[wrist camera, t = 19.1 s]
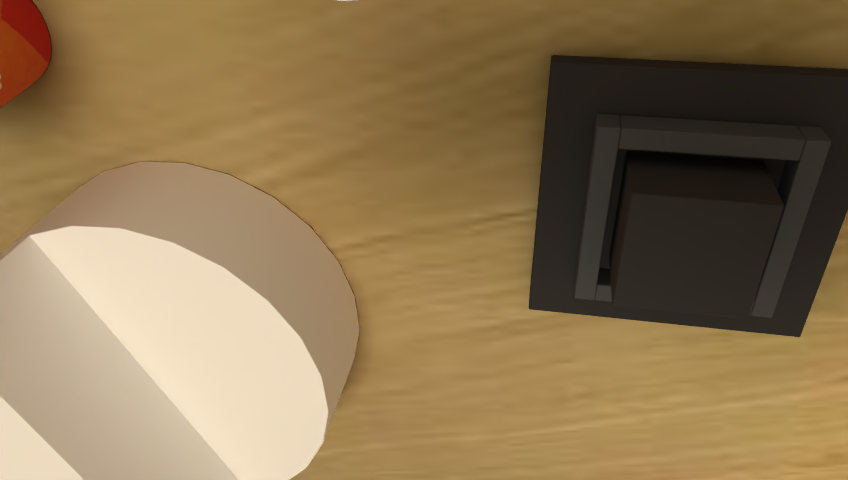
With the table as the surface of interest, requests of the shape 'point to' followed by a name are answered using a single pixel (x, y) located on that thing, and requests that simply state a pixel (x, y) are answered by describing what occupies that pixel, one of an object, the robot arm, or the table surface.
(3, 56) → the coffee cup
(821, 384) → the table surface
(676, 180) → the black block
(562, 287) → the base pad
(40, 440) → the container
